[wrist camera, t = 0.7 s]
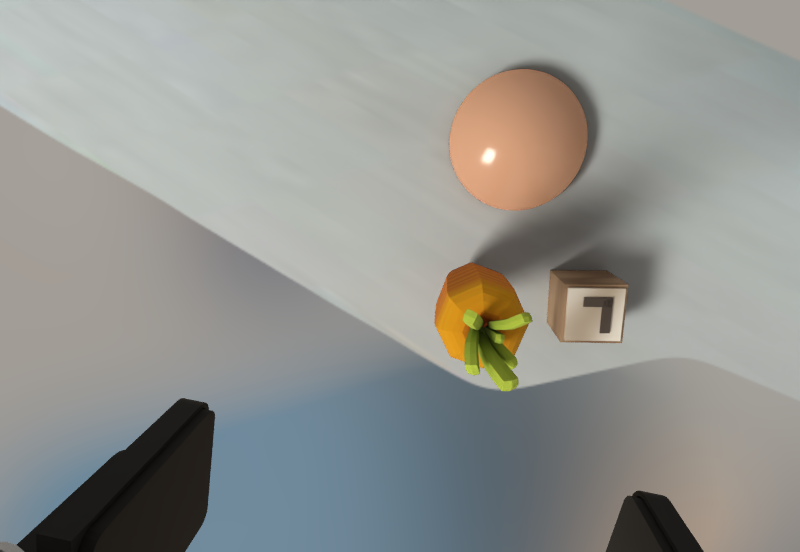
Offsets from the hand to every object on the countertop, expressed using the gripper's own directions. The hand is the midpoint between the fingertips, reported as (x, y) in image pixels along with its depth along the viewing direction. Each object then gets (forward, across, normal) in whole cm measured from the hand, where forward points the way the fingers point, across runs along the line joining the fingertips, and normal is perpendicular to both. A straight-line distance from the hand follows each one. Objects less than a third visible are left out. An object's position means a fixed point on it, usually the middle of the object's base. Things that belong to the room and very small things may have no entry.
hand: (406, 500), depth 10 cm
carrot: (+25, -3, +1) cm, 26 cm away
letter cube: (+25, -11, +1) cm, 28 cm away
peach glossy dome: (+25, -4, -9) cm, 27 cm away
